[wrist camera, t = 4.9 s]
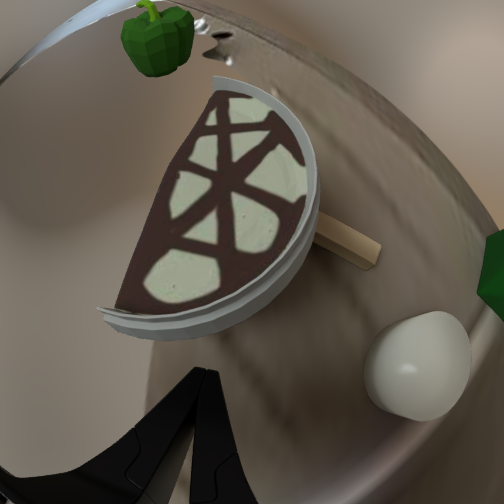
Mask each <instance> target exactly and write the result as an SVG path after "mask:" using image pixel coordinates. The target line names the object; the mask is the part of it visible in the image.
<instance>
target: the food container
mask: <svg viewBox="0 0 504 504" xmlns="http://www.w3.org/2000/svg"><path fill="white" fill-rule="evenodd" d="M320 184H321V183H320V176H319V169H318V163H317V160H316V157H315V153H314V150H313V147H312V145H311V142H310V139H309V136H308V134H307V133H306V131H305V129H304V128H303V126H302V124H301V123H300V121H299V120H298V119H297V118H296V117H295V115H294V114H293V113H292V112H291V111H290V110H289V109H288V108H287V107H286V106H285V105H284V104H282V103H281V102H280V101H279V100H278V99H276V98H275V97H273V96H272V95H270V94H268V93H267V92H265V91H263V90H262V89H260V88H257V87H255V86H253V85H250V84H248V83H245V82H242V81H238V80H235V79H231V78H226V77H220V76H213V95H212V97H211V98H210V99H209V101H208V104H207V106H206V107H205V109H204V111H203V113H202V114H201V116H200V118H199V119H198V121H197V123H196V124H195V126H194V127H193V129H192V131H191V132H190V134H189V135H188V136H187V138H186V139H185V141H184V142H183V144H182V145H181V146H180V148H179V149H178V151H177V153H176V154H175V156H174V157H173V159H172V161H171V162H170V164H169V166H168V168H167V170H166V172H165V174H164V177H163V179H162V181H161V184H160V186H159V189H158V192H157V194H156V196H155V199H154V202H153V205H152V207H151V210H150V212H149V215H148V217H147V220H146V223H145V225H144V228H143V231H142V234H141V236H140V238H139V241H138V243H137V246H136V248H135V251H134V253H133V256H132V259H131V261H130V264H129V267H128V269H127V272H126V275H125V278H124V280H123V283H122V286H121V289H120V292H119V295H118V298H117V301H116V304H115V307H114V308H115V309H109V308H102V307H97V310H99V311H101V312H103V313H105V316H104V319H103V320H104V321H105V322H106V323H107V324H109V325H110V326H111V327H112V328H114V329H115V330H116V331H117V332H120V333H123V334H127V335H130V336H134V337H137V338H141V339H150V340H160V341H174V340H186V339H194V338H198V337H202V336H206V335H210V334H214V333H217V332H220V331H223V330H225V329H227V328H229V327H231V326H234V325H236V324H238V323H240V322H242V321H244V320H246V319H248V318H249V317H251V316H252V315H253V314H255V313H256V312H258V311H259V310H261V309H262V308H264V307H265V306H267V305H268V304H269V303H270V302H271V301H272V300H273V299H274V298H275V297H276V296H277V295H278V294H279V293H280V292H281V291H282V290H283V289H284V288H285V287H286V286H287V285H288V284H289V283H290V281H291V280H292V278H293V277H294V276H295V274H296V273H297V271H298V270H299V269H300V267H301V266H302V264H303V262H304V260H305V258H306V256H307V254H308V251H309V249H310V247H311V245H312V242H313V238H314V234H315V231H316V227H317V223H318V213H319V201H320Z"/></svg>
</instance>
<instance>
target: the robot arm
mask: <svg viewBox="0 0 504 504" xmlns="http://www.w3.org/2000/svg"><path fill="white" fill-rule="evenodd" d="M193 435H194V442H193V454H192V467H191V482H190V498H189V504H258V502H257V500H256V498H255V496H254V494H253V492H252V490H251V488H250V486H249V484H248V481H247V479H246V477H245V474H244V471H243V468H242V465H241V462H240V458H239V455H238V452H237V447H236V444H235V440H234V436H233V432H232V428H231V424H230V420H229V416H228V411H227V407H226V403H225V398H224V394H223V390H222V385H221V380H220V376H219V372H218V371H216V370H210V369H208V370H206V369H205V368H201V367H194V368H193V369H192V370H191V371H190V372H189V373H188V374H187V375H186V376H185V377H184V378H183V379H182V380H181V381H180V382H179V383H178V384H177V385H176V386H175V387H174V388H173V389H172V390H171V391H170V392H169V393H168V394H167V395H166V396H165V397H164V398H163V399H162V400H161V401H160V402H159V403H158V404H157V405H156V406H155V407H154V408H153V409H152V410H151V411H150V412H148V413H147V414H146V415H145V416H144V417H143V418H142V419H141V420H140V421H139V422H138V423H137V424H136V425H135V428H132V429H131V430H129V431H128V432H127V433H126V434H125V435H124V436H123V437H122V438H120V439H119V440H118V441H117V442H116V443H114V444H113V445H112V446H110V447H109V448H107V449H106V450H105V451H103V452H102V453H100V454H99V455H97V456H96V457H94V458H92V459H91V460H90V461H88V462H86V463H85V464H83V465H82V466H80V467H78V468H76V469H74V470H71V471H68V472H64V473H59V474H52V475H45V476H37V477H29V478H28V477H27V478H19V477H15V476H14V475H12V474H11V473H9V472H8V471H7V470H5V469H4V468H3V467H1V466H0V504H168V503H169V500H170V497H171V495H172V492H173V489H174V487H175V484H176V481H177V479H178V476H179V473H180V470H181V468H182V465H183V462H184V460H185V457H186V454H187V451H188V449H189V446H190V443H191V440H192V438H193Z"/></svg>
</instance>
